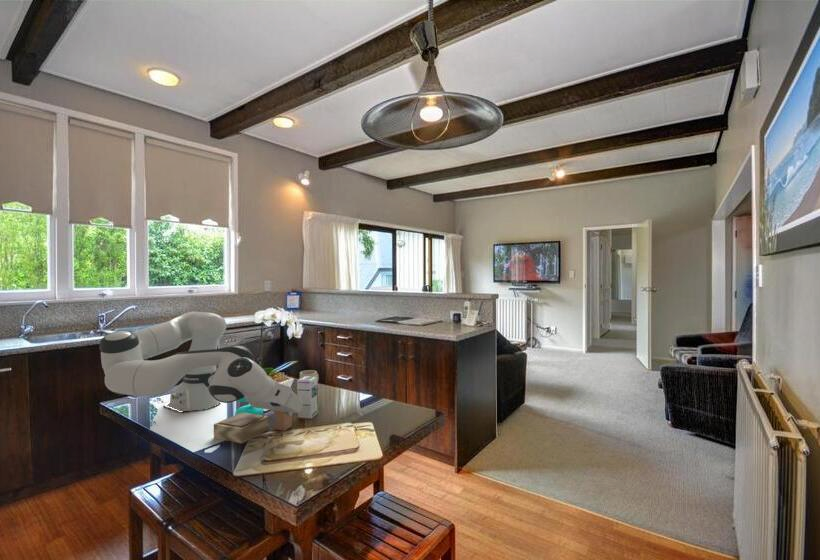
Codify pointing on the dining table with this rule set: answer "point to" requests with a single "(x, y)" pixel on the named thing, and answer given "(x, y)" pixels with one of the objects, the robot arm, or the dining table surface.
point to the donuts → (248, 409)
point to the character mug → (309, 374)
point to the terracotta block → (282, 420)
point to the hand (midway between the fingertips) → (284, 412)
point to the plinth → (241, 427)
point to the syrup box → (308, 396)
